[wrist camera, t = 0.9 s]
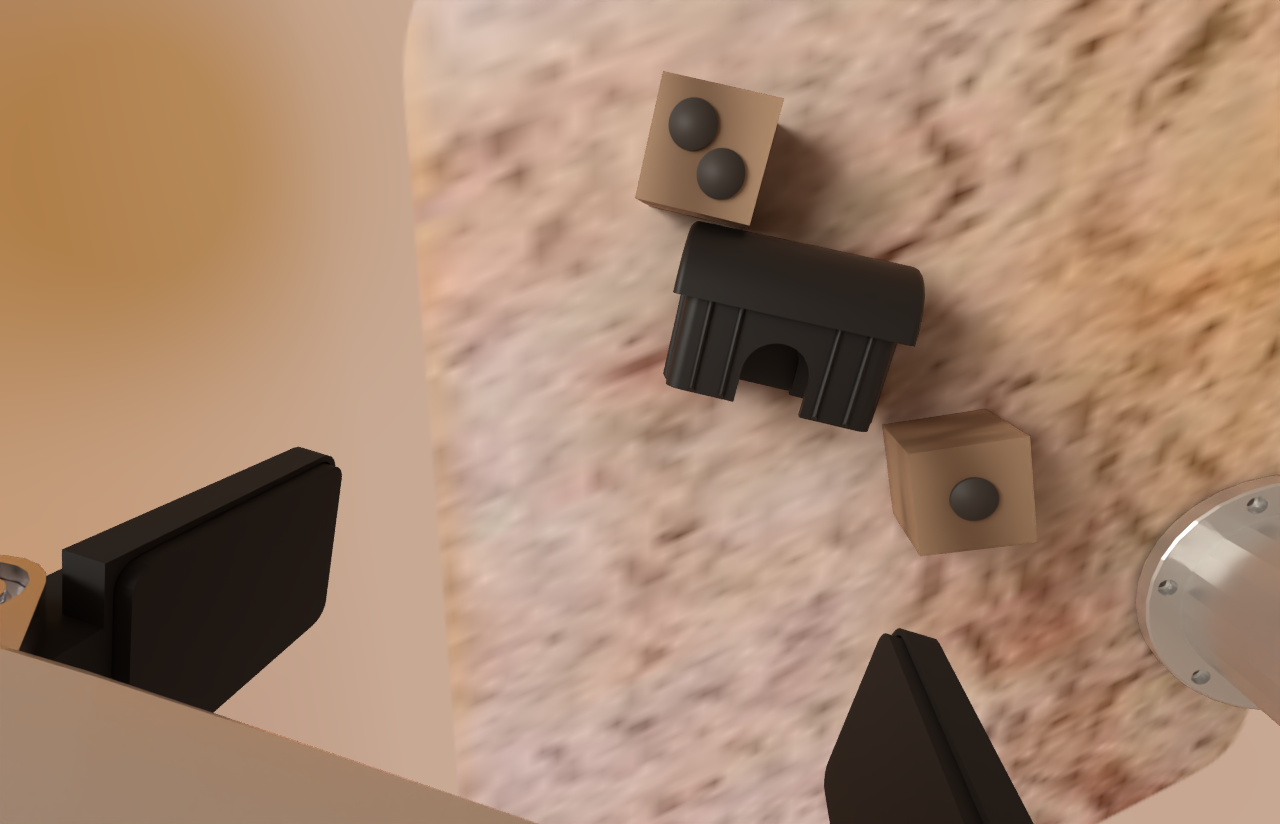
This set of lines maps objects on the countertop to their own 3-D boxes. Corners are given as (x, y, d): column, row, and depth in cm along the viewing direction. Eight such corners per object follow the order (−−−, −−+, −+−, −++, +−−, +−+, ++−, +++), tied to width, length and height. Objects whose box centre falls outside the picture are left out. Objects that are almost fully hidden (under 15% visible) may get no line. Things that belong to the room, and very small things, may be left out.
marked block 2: (984, 408, 32) (1032, 437, 27) (992, 499, 33) (1039, 544, 28) (881, 424, 33) (909, 455, 28) (892, 512, 34) (921, 558, 29)
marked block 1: (775, 122, 30) (784, 97, 25) (746, 229, 31) (749, 225, 26) (673, 99, 30) (662, 69, 25) (649, 205, 32) (634, 197, 27)
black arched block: (897, 266, 31) (942, 270, 24) (854, 403, 33) (885, 441, 26) (697, 223, 32) (689, 216, 25) (666, 359, 34) (651, 386, 27)
